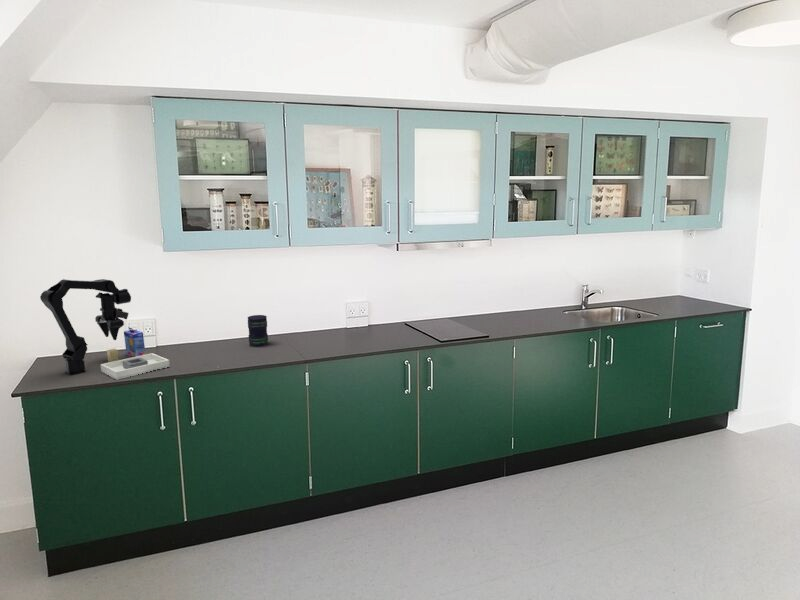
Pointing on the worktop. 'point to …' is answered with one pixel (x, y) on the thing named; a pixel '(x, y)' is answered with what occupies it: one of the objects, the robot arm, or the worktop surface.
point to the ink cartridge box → (134, 343)
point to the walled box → (134, 366)
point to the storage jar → (257, 331)
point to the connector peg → (112, 355)
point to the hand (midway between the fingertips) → (111, 338)
